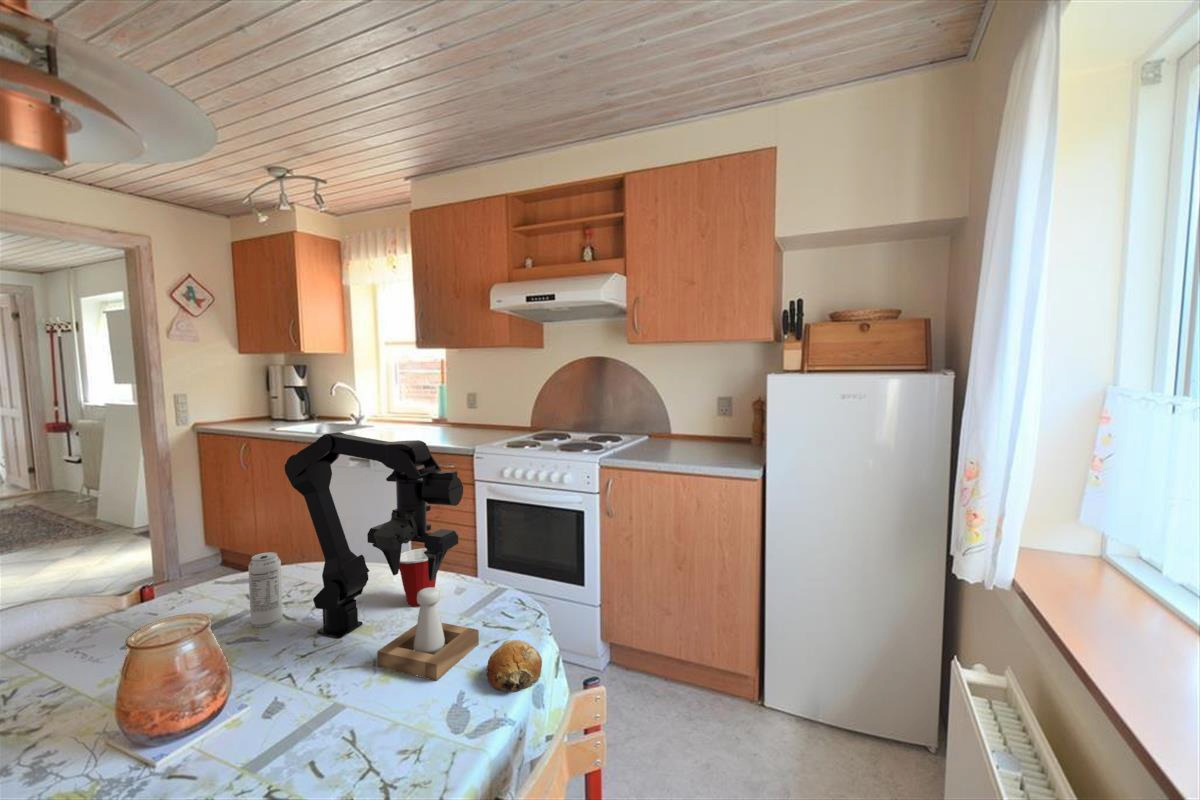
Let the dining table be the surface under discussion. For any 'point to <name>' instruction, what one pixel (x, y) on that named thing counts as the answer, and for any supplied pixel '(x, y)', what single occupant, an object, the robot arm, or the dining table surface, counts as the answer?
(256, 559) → the energy drink can
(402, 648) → the frame
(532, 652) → the bread roll
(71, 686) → the dining table surface
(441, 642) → the salt shaker
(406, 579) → the plastic cup
